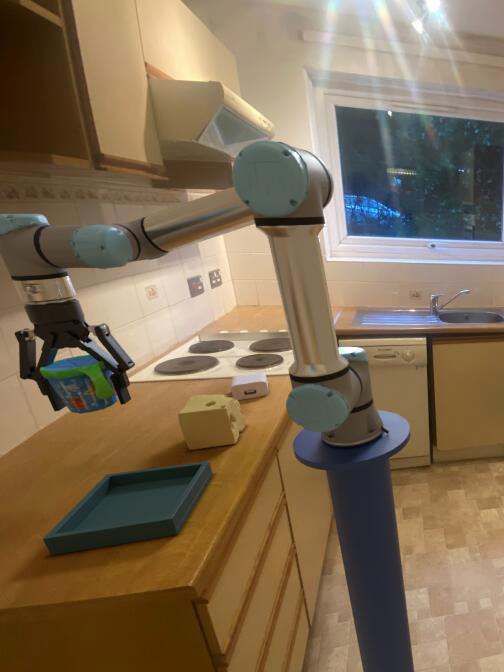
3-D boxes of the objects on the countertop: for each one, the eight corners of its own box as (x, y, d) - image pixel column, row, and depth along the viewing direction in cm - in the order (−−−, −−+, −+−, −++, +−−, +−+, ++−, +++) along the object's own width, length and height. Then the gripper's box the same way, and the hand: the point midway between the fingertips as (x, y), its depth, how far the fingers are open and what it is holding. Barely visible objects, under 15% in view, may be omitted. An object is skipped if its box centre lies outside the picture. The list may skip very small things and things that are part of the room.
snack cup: (49, 407, 91) (28, 362, 87) (112, 390, 99) (95, 348, 95) (74, 426, 83) (52, 377, 79) (140, 406, 91) (123, 361, 87)
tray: (213, 474, 93) (209, 460, 92) (177, 534, 76) (171, 518, 75) (112, 488, 88) (106, 474, 87) (51, 555, 71) (42, 539, 70)
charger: (267, 378, 144) (268, 395, 132) (235, 383, 140) (233, 401, 128) (264, 365, 142) (265, 380, 130) (232, 370, 138) (229, 386, 126)
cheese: (246, 425, 114) (237, 390, 110) (236, 445, 104) (226, 408, 100) (201, 431, 111) (190, 395, 107) (186, 452, 101) (173, 414, 97)
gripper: (-45, 308, 76) (11, 420, 85) (112, 300, 82) (150, 405, 91) (-11, 300, 83) (38, 404, 91) (132, 293, 89) (165, 391, 97)
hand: (94, 405), depth 91 cm, fingers closed on snack cup, 11 cm apart
